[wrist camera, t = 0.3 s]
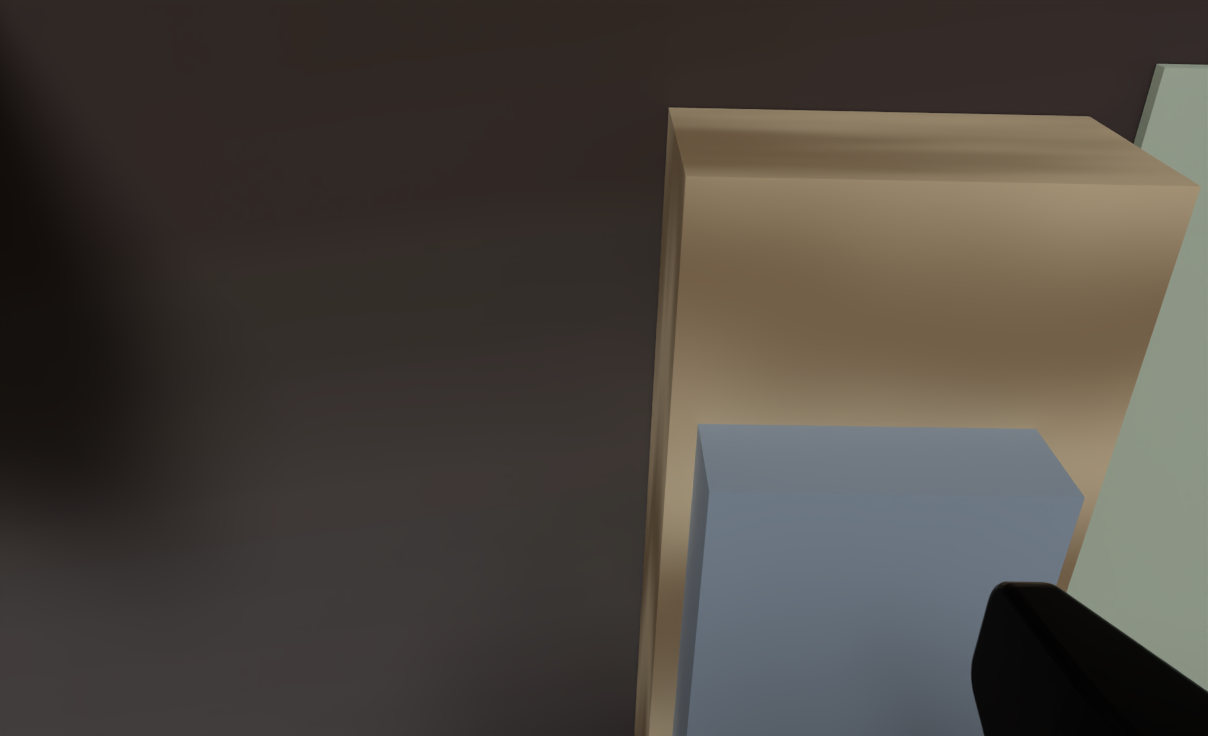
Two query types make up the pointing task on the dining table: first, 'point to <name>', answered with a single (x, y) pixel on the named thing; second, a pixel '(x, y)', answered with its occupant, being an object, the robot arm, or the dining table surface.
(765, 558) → the slate blue board
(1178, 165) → the mat
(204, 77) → the dining table surface
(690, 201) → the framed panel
